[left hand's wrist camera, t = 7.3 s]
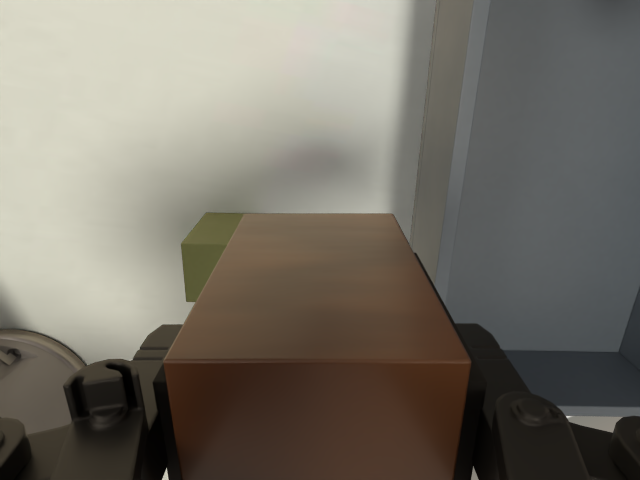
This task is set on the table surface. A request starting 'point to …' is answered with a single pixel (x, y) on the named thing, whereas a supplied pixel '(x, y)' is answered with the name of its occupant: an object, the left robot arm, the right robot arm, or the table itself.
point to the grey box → (538, 190)
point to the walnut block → (317, 358)
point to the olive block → (206, 249)
